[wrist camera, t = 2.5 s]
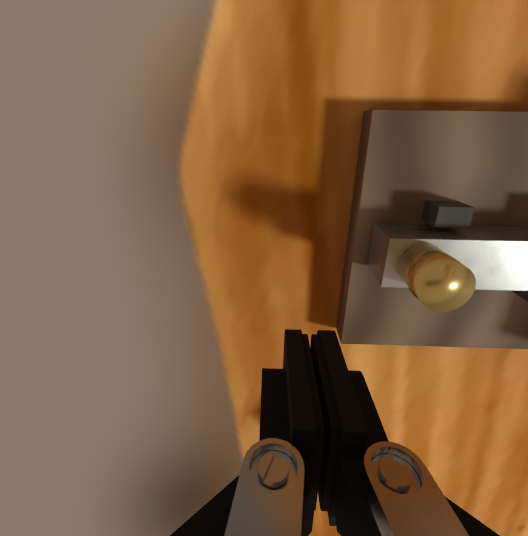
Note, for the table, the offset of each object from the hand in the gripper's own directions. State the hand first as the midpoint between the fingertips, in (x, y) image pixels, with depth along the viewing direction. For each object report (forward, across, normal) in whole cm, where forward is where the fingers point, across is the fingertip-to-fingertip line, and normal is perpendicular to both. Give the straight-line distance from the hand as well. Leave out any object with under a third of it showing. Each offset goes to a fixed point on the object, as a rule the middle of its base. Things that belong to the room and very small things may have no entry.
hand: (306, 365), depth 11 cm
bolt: (+11, -11, -1) cm, 16 cm away
